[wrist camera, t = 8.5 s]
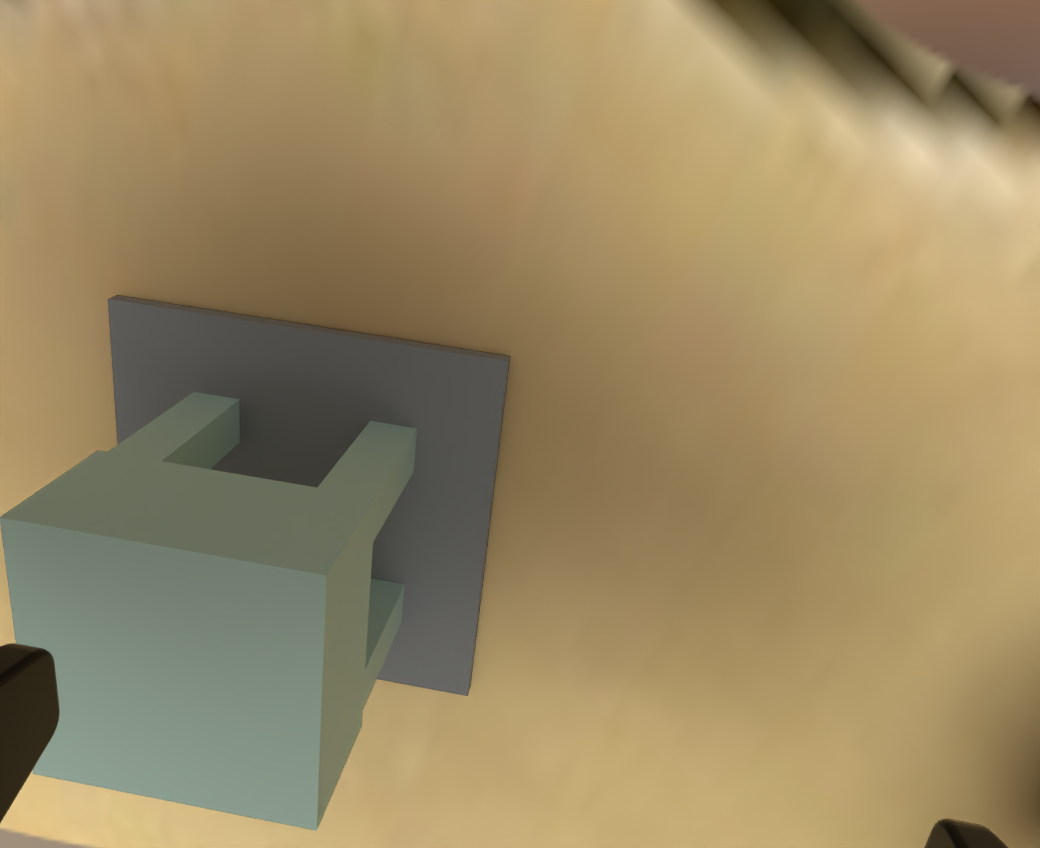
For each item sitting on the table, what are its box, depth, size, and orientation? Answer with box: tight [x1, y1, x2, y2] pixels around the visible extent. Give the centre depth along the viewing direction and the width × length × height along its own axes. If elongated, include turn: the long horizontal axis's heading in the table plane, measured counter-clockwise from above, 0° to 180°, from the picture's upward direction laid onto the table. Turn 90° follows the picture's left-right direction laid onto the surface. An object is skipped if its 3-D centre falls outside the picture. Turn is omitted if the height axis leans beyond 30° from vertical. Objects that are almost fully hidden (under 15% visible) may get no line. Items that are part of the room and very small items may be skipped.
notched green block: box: [0, 392, 417, 831], centre depth 19 cm, size 6×6×7 cm
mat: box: [108, 295, 510, 696], centre depth 23 cm, size 10×10×1 cm
